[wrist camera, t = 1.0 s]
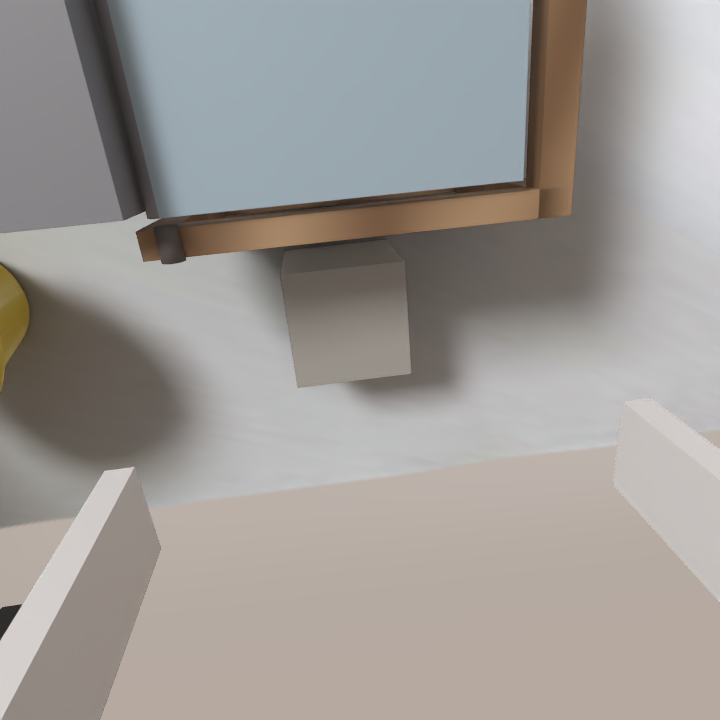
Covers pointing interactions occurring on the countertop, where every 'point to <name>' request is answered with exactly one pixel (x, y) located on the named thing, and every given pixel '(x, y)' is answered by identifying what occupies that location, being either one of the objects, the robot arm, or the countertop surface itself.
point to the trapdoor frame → (469, 208)
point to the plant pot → (11, 318)
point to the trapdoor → (252, 103)
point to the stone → (346, 312)
